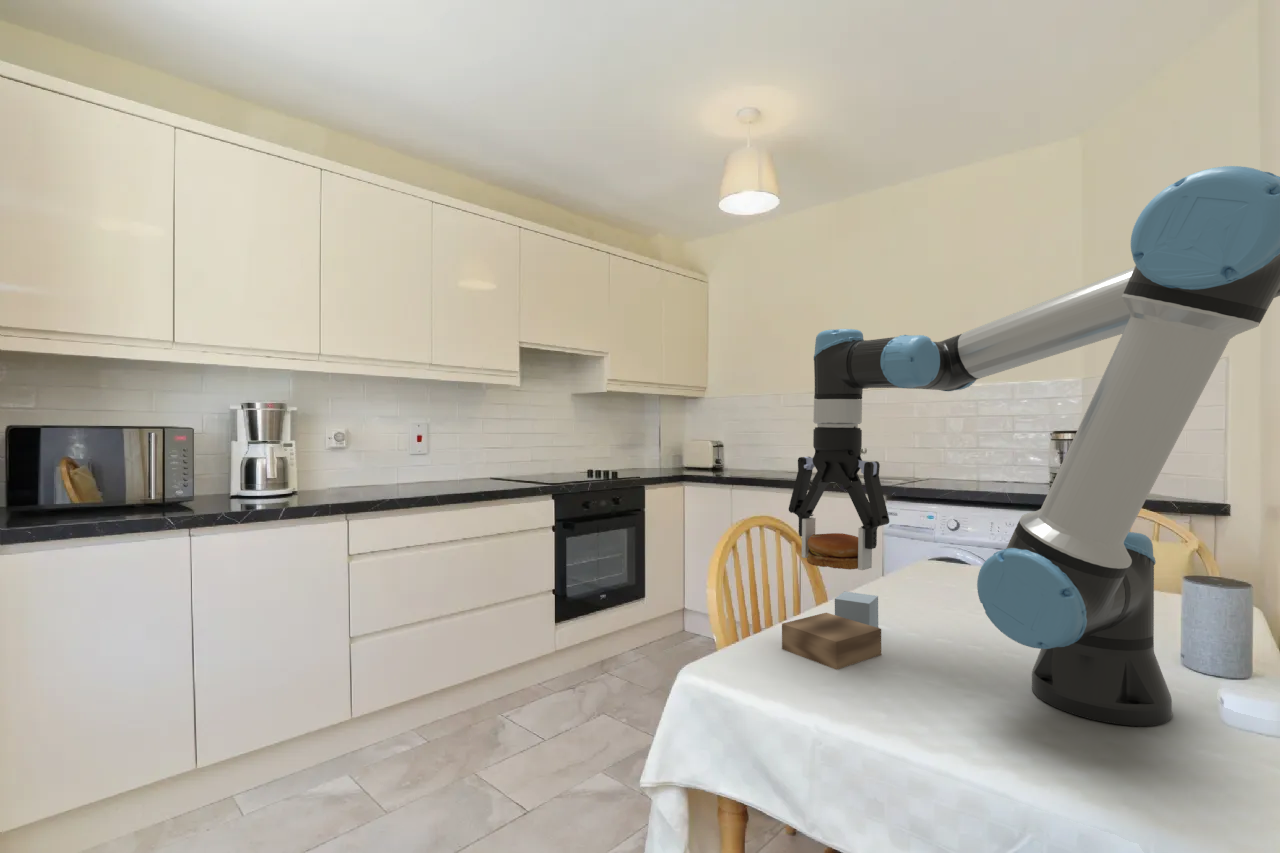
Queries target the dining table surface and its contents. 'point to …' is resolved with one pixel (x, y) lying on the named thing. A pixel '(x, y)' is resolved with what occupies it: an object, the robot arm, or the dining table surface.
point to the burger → (833, 550)
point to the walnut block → (831, 640)
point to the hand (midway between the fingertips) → (835, 562)
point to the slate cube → (858, 607)
